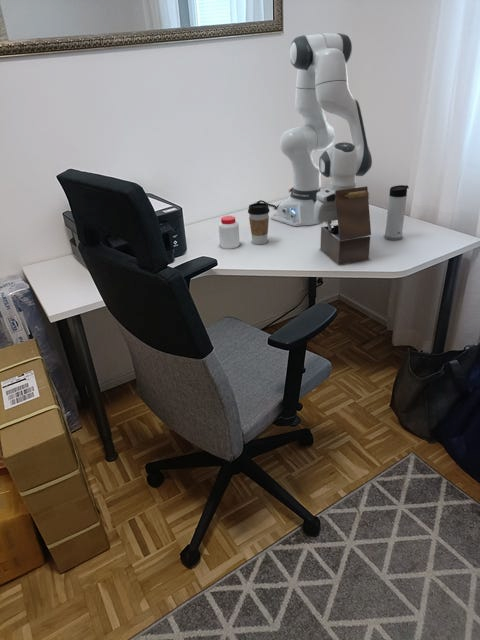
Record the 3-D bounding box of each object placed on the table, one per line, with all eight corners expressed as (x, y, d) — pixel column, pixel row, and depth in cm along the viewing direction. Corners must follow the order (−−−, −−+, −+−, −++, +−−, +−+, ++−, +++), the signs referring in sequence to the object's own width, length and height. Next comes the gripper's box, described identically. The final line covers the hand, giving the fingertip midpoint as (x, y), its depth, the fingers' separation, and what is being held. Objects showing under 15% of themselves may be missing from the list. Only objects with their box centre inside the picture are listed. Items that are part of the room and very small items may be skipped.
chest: (320, 249, 185) (321, 226, 181) (348, 244, 187) (349, 222, 183) (338, 264, 172) (339, 241, 168) (368, 259, 174) (370, 236, 170)
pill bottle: (232, 249, 189) (231, 222, 184) (216, 246, 193) (214, 219, 187) (243, 243, 195) (242, 216, 189) (227, 240, 198) (225, 213, 193)
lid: (334, 190, 164) (341, 189, 159) (366, 186, 167) (373, 185, 162) (339, 239, 168) (345, 240, 163) (370, 235, 170) (377, 235, 165)
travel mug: (403, 240, 188) (409, 188, 178) (385, 240, 190) (390, 188, 179) (401, 234, 193) (408, 183, 183) (384, 234, 195) (389, 183, 185)
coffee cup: (246, 244, 193) (244, 207, 185) (253, 237, 200) (251, 200, 192) (266, 246, 190) (265, 208, 183) (273, 238, 197) (272, 201, 190)
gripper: (365, 186, 176) (362, 223, 183) (312, 193, 172) (311, 231, 179) (373, 190, 171) (370, 228, 178) (319, 198, 167) (318, 237, 174)
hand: (340, 230), depth 179 cm, fingers open, 6 cm apart
